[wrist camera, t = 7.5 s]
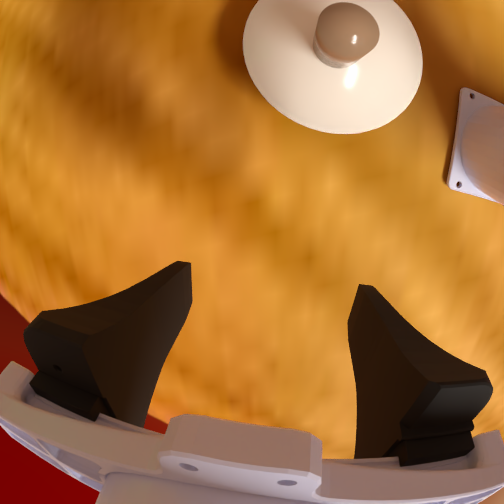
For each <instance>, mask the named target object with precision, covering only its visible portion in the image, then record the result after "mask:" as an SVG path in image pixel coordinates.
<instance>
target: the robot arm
mask: <svg viewBox="0 0 504 504" xmlns="http://www.w3.org/2000/svg"><path fill="white" fill-rule="evenodd" d="M470 93H471V94H472V96H473V98H472V99H471V98H470ZM458 181H459V186H458V187H457V186H456V184H457V182H458ZM447 186H448V187H449V188H450V189H452V190H456V191H460V192H464V193H467V194H471V195H474V196H478V197H481V198H485V199H488V200H491V201H494V202H498V203H500V204H502V205H503V206H504V104H502V103H500V102H498V101H496V100H494V99H492V98H489V97H487V96H485V95H483V94H481V93H478V92H476V91H474V90H472V89H469V88H466V87H464V88H461V90H460V97H459V108H458V117H457V125H456V132H455V139H454V145H453V151H452V157H451V162H450V168H449V173H448V178H447ZM191 304H192V280H191V263H189V262H182V261H176V262H174V263H172V264H171V265H169V266H167V267H165V268H164V269H162V270H160V271H159V272H157V273H155V274H154V275H152V276H150V277H148V278H147V279H145V280H143V281H141V282H139V283H137V284H135V285H134V286H132V287H130V288H128V289H126V290H123V291H121V292H119V293H116V294H114V295H112V296H109V297H106V298H103V299H100V300H97V301H94V302H91V303H87V304H83V305H79V306H74V307H69V308H64V309H56V310H48V311H42V312H41V313H40V314H39V315H38V316H37V317H36V318H35V319H34V320H33V321H32V322H31V323H30V324H29V325H28V327H27V328H26V329H25V330H24V334H23V335H24V341H25V344H26V347H27V349H28V351H29V352H30V355H31V357H32V359H33V360H34V362H35V364H36V366H37V368H38V370H39V371H38V372H37V373H36V375H34V374H33V373H32V372H30V371H29V370H28V369H26V368H24V367H23V366H21V365H19V364H17V363H15V362H13V361H11V363H10V364H9V365H8V366H7V367H6V369H5V370H4V371H3V372H2V374H1V375H0V425H1V426H2V427H3V429H5V431H6V432H7V433H8V434H9V435H10V436H11V437H12V438H14V439H15V440H17V441H18V442H19V443H21V444H22V445H24V446H25V447H27V448H28V449H29V450H31V451H32V452H34V453H35V454H37V455H38V456H40V457H41V458H43V459H44V460H46V461H47V462H49V463H50V464H52V465H54V466H55V467H57V468H59V469H60V470H62V471H63V472H65V473H67V474H68V475H70V476H72V477H74V478H75V479H77V480H79V481H81V482H82V483H84V484H86V485H88V486H90V487H92V488H94V489H96V490H98V491H100V494H99V496H98V499H97V501H96V504H478V503H479V502H481V501H483V500H484V499H486V498H487V497H489V496H490V495H492V494H493V493H495V492H497V491H498V490H500V489H501V488H503V487H504V444H503V441H502V437H501V434H500V432H499V430H494V431H490V432H486V433H482V434H479V435H477V436H475V437H473V438H472V435H471V432H470V431H472V430H473V429H474V424H473V421H472V420H473V419H474V418H475V417H476V416H477V415H478V413H479V412H480V411H481V410H482V409H483V408H484V407H485V405H486V404H487V403H488V401H489V400H490V398H491V395H492V393H493V387H492V385H491V382H490V380H489V378H488V376H487V374H486V371H485V370H482V369H480V368H478V367H475V366H473V365H471V364H468V363H466V362H464V361H462V360H460V359H458V358H456V357H455V356H453V355H451V354H449V353H448V352H446V351H444V350H443V349H441V348H440V347H438V346H437V345H435V344H434V343H433V342H431V341H430V340H428V339H427V338H426V337H425V336H423V335H422V334H421V333H420V332H418V331H417V330H416V329H415V328H414V327H413V326H412V325H411V324H409V323H408V322H407V321H406V320H405V319H404V318H403V317H402V316H401V315H400V314H399V313H398V312H397V311H396V310H395V309H394V308H393V307H392V305H391V304H390V303H389V302H388V301H387V300H386V299H385V298H384V297H383V296H382V295H381V294H380V293H379V292H378V291H377V290H376V289H375V288H374V287H373V286H371V285H362V284H359V286H358V289H357V293H356V296H355V300H354V303H353V306H352V309H351V313H350V316H349V319H348V341H349V347H350V353H351V359H352V364H353V370H354V376H355V382H356V392H357V429H356V445H355V455H354V459H322V441H321V440H320V439H318V438H317V437H315V436H314V435H312V434H311V433H309V432H305V431H301V430H296V429H291V428H281V427H272V426H264V425H256V424H249V423H243V422H236V421H230V420H225V419H219V418H214V417H209V416H204V415H194V414H184V415H180V416H177V417H174V418H171V420H170V422H169V425H168V428H167V430H166V433H165V435H164V434H160V433H157V432H154V431H150V430H147V429H144V424H145V419H146V415H147V412H148V409H149V405H150V402H151V398H152V395H153V392H154V389H155V386H156V383H157V380H158V377H159V375H160V372H161V369H162V366H163V364H164V362H165V359H166V357H167V355H168V353H169V351H170V350H171V348H172V346H173V344H174V342H175V340H176V338H177V336H178V334H179V332H180V330H181V329H182V327H183V325H184V323H185V321H186V318H187V316H188V313H189V310H190V307H191Z"/></svg>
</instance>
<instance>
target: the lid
mask: <svg viewBox="0 0 504 504" xmlns="http://www.w3.org/2000/svg"><path fill="white" fill-rule="evenodd" d="M243 53H244V58H245V63H246V66H247V69H248V72H249V74H250V76H251V78H252V80H253V82H254V84H255V86H256V87H257V89H258V90H259V91H260V93H261V94H262V95H263V96H264V98H265V99H266V100H267V101H268V102H269V103H270V104H271V105H272V106H273V107H274V108H276V109H277V110H278V111H279V112H281V113H282V114H284V115H285V116H286V117H288V118H290V119H291V120H293V121H295V122H297V123H299V124H301V125H304V126H306V127H309V128H311V129H315V130H318V131H322V132H328V133H335V134H353V133H361V132H366V131H370V130H373V129H376V128H379V127H381V126H383V125H385V124H387V123H389V122H390V121H392V120H393V119H395V118H396V117H397V116H398V115H400V114H401V113H402V112H403V111H404V110H405V109H406V108H407V106H408V105H409V104H410V103H411V101H412V99H413V98H414V96H415V94H416V92H417V90H418V87H419V84H420V81H421V76H422V67H423V60H422V51H421V46H420V42H419V39H418V36H417V33H416V31H415V29H414V27H413V25H412V23H411V22H410V20H409V19H408V17H407V16H406V14H405V13H404V12H403V10H402V9H401V8H400V7H399V6H398V5H397V4H396V3H395V2H394V1H393V0H259V1H258V2H257V3H256V5H255V6H254V8H253V9H252V11H251V12H250V15H249V17H248V19H247V22H246V25H245V29H244V35H243Z"/></svg>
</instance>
